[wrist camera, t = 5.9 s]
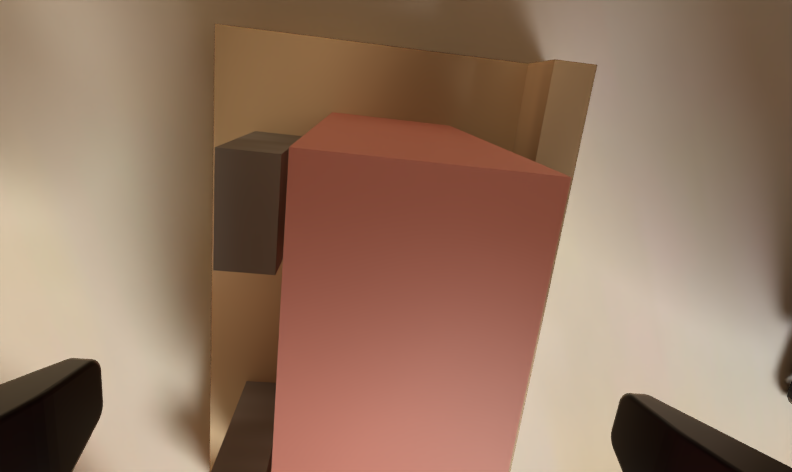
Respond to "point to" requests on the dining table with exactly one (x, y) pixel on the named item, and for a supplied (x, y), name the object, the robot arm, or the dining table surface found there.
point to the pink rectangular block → (409, 297)
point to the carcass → (268, 168)
